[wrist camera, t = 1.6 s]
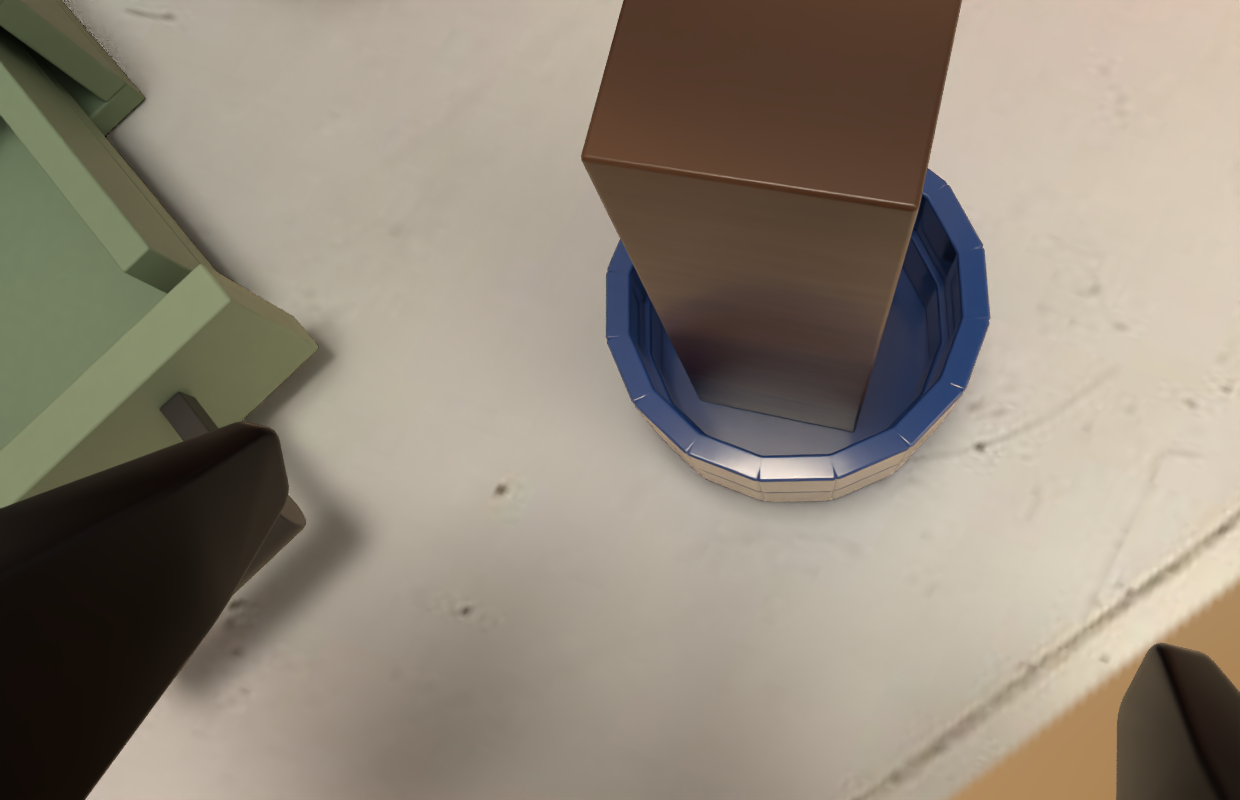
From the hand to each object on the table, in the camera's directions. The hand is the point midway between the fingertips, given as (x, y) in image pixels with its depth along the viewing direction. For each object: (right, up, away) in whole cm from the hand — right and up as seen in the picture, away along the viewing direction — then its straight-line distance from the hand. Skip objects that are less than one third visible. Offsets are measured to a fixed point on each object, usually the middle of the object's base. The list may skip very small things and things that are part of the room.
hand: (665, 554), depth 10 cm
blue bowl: (+3, +3, +12) cm, 13 cm away
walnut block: (+3, +3, +12) cm, 13 cm away
